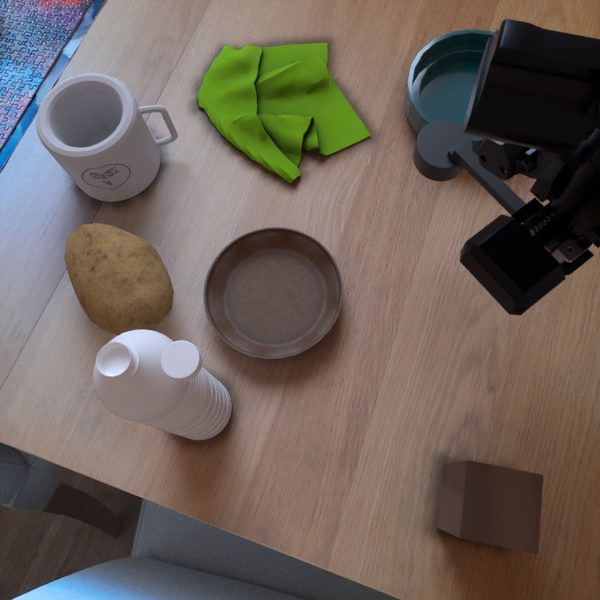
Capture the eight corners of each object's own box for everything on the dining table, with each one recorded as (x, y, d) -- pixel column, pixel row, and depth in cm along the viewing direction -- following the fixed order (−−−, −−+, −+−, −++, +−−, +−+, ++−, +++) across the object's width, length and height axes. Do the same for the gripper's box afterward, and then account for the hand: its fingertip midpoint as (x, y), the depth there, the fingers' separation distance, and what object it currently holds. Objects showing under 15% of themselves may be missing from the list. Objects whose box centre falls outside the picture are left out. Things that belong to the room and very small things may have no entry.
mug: (79, 212, 67) (37, 168, 57) (70, 136, 70) (29, 82, 61) (191, 187, 67) (167, 138, 57) (177, 112, 70) (153, 54, 61)
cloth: (207, 39, 74) (203, 24, 71) (377, 45, 72) (378, 31, 69) (182, 178, 67) (177, 167, 65) (367, 188, 66) (368, 178, 63)
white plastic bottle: (168, 440, 58) (53, 410, 34) (173, 377, 60) (69, 308, 36) (252, 441, 58) (195, 412, 34) (255, 378, 60) (203, 308, 36)
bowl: (536, 61, 70) (548, 37, 66) (527, 168, 65) (539, 149, 61) (412, 47, 71) (417, 22, 68) (395, 150, 67) (399, 131, 63)
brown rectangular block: (505, 475, 55) (543, 474, 45) (500, 541, 54) (538, 554, 44) (443, 463, 56) (467, 459, 46) (436, 527, 54) (459, 538, 44)
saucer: (200, 250, 64) (194, 240, 62) (327, 224, 65) (326, 214, 62) (219, 376, 60) (213, 372, 57) (355, 348, 60) (356, 342, 57)
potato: (130, 222, 66) (103, 188, 58) (204, 307, 62) (187, 283, 55) (62, 275, 64) (25, 248, 57) (134, 366, 61) (106, 349, 53)
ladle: (402, 154, 54) (406, 131, 50) (442, 125, 54) (449, 100, 51) (522, 279, 49) (536, 263, 46) (564, 246, 50) (582, 227, 46)
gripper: (643, -12, 37) (555, 129, 52) (426, 145, 35) (398, 246, 49) (786, 99, 34) (649, 215, 49) (559, 280, 31) (487, 344, 46)
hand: (544, 251), depth 48 cm, fingers closed on ladle
